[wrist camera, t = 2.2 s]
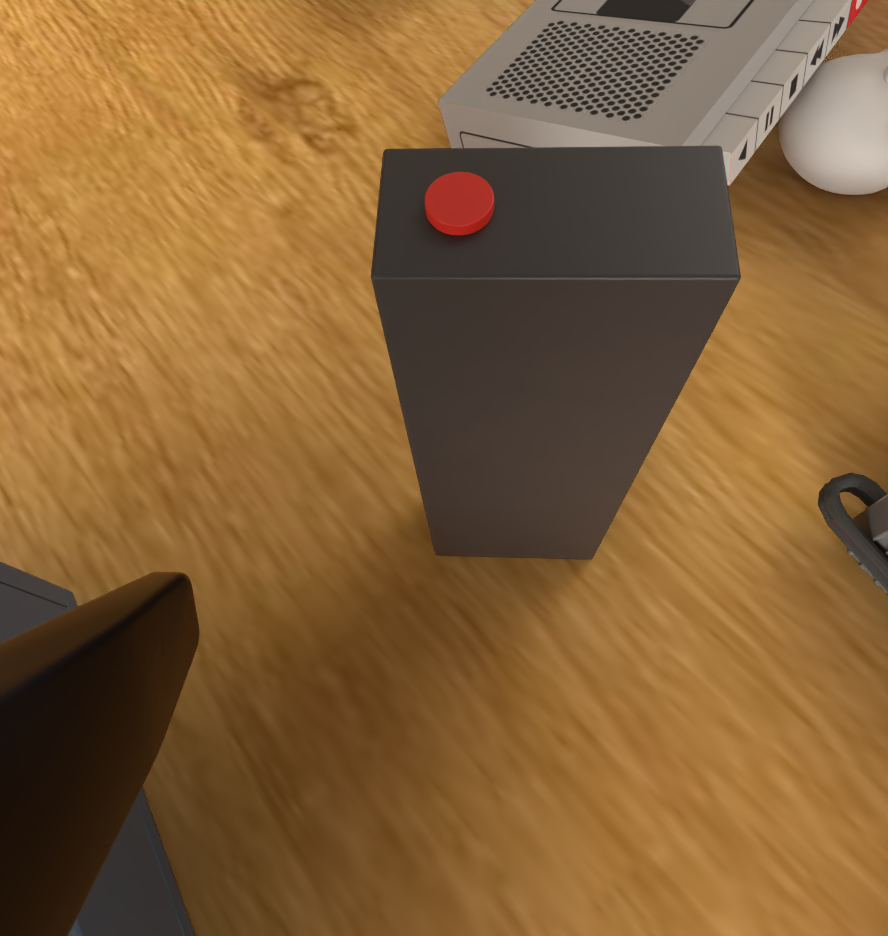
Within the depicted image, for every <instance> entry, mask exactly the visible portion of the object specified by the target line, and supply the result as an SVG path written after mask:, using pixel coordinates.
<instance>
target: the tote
mask: <svg viewBox="0 0 888 936" xmlns="http://www.w3.org/2000/svg"><path fill="white" fill-rule="evenodd" d="M75 608H77V604H76V601H75V599H74V596H73V593H72V592H71V591H68V590H66V589H63V588H61V587H60V586H57V585H55V584H52V583H50V582H47V581H45V580H43V579H40V578H38V577H35V576H33V575H31V574H28V573H26V572H23V571H21V570H19V569H16V568H14V567H11V566H9V565H7V564H4V563H2V562H0V643H1V642H3V641H6V640H8V639H10V638H12V637H14V636H16V635H18V634H21V633H23V632H25V631H27V630H29V629H31V628H34V627H36V626H38V625H40V624H42V623H44V622H47V621H49V620H51V619H53V618H55V617H57V616H60V615H62V614H64V613H66V612H68V611H70V610H72V609H75ZM68 936H195V934H194V931H193V928H192V926H191V923H190V920H189V917H188V914H187V912H186V909H185V906H184V903H183V900H182V898H181V895H180V892H179V889H178V886H177V884H176V881H175V878H174V875H173V872H172V870H171V867H170V864H169V861H168V859H167V856H166V853H165V850H164V847H163V845H162V842H161V839H160V836H159V833H158V831H157V828H156V825H155V822H154V819H153V817H152V814H151V811H150V808H149V805H148V803H147V800H146V797H145V794H144V791H143V789H142V788H141V790H140V792H139V794H138V796H137V798H136V800H135V802H134V804H133V806H132V808H131V810H130V812H129V814H128V816H127V818H126V820H125V822H124V824H123V826H122V828H121V830H120V832H119V834H118V836H117V838H116V840H115V842H114V844H113V846H112V848H111V850H110V852H109V854H108V856H107V858H106V860H105V862H104V864H103V866H102V868H101V870H100V872H99V874H98V876H97V878H96V880H95V882H94V885H93V887H92V889H91V891H90V893H89V895H88V897H87V899H86V901H85V903H84V905H83V907H82V909H81V911H80V913H79V915H78V917H77V919H76V921H75V923H74V925H73V927H72V929H71V931H70V933H69V935H68Z"/></svg>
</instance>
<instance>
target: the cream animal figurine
mask: <svg viewBox="0 0 888 936" xmlns="http://www.w3.org/2000/svg"><path fill="white" fill-rule="evenodd" d="M778 136H779V141H780V145H781V148H782V151H783V153H784V155H785V157H786V159H787V161H788V162H789V164H790V165H791V166H792V167H793V169H794V170H795V171H796V172H797V173H798V174H799V175H800V176H801V177H802V178H804V179H805V180H806V181H808V182H809V183H811V184H812V185H814V186H816V187H818V188H820V189H823V190H825V191H828V192H832V193H838V194H846V195H863V194H870V193H874V192H877V191H880V190H882V189H885V188H887V187H888V48H887V49H885V50H883V51H881V52H879V53H874V54H857V55H849V56H844V57H839V58H835V59H832V60H829V61H826V62H823V63H821V64H820V65H819V67H818V68H817V69H816V71H815V72H814V73H813V75H812V76H811V77H810V79H809V80H808V81H807V83H806V84H805V85H804V87H803V88H802V89H801V91H800V92H799V94H798V95H797V96H796V98H795V99H794V100H793V102H792V103H791V104H790V106H789V107H788V108H787V110H786V111H785V112H784V114H783V115H782V116H781V118H780V119H779V120H778Z"/></svg>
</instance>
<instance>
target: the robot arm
mask: <svg viewBox="0 0 888 936" xmlns="http://www.w3.org/2000/svg"><path fill="white" fill-rule="evenodd" d="M198 641H199V624H198V618H197V613H196V607H195V601H194V595H193V589H192V584H191V581H190V579H189V577H188V576H187V575H186V574H184V573H180V572H153V573H150V574H148V575H146V576H144V577H142V578H139V579H137V580H135V581H133V582H131V583H129V584H126V585H124V586H122V587H120V588H118V589H116V590H114V591H111V592H109V593H107V594H105V595H103V596H101V597H98V598H96V599H94V600H92V601H90V602H88V603H85V604H83V605H81V606H79V607H77V608H75V609H72V610H70V611H68V612H66V613H64V614H62V615H60V616H57V617H55V618H53V619H51V620H49V621H47V622H44V623H42V624H40V625H38V626H36V627H34V628H31V629H29V630H27V631H25V632H23V633H21V634H18V635H16V636H14V637H12V638H10V639H8V640H6V641H3V642H1V643H0V936H68V935H69V933H70V931H71V929H72V927H73V925H74V923H75V921H76V919H77V917H78V915H79V913H80V911H81V909H82V907H83V905H84V903H85V901H86V899H87V897H88V895H89V893H90V891H91V889H92V887H93V885H94V882H95V880H96V878H97V876H98V874H99V872H100V870H101V868H102V866H103V864H104V862H105V860H106V858H107V856H108V854H109V852H110V850H111V848H112V846H113V844H114V842H115V840H116V838H117V836H118V834H119V832H120V830H121V828H122V826H123V824H124V822H125V820H126V818H127V816H128V814H129V812H130V810H131V808H132V806H133V804H134V802H135V800H136V798H137V796H138V794H139V792H140V790H141V788H142V786H143V784H144V782H145V780H146V778H147V776H148V774H149V772H150V769H151V767H152V765H153V763H154V761H155V759H156V756H157V754H158V752H159V749H160V747H161V744H162V742H163V739H164V737H165V734H166V731H167V729H168V726H169V723H170V721H171V718H172V715H173V712H174V710H175V707H176V704H177V701H178V699H179V696H180V693H181V690H182V688H183V685H184V682H185V679H186V677H187V674H188V671H189V668H190V666H191V663H192V660H193V657H194V655H195V652H196V649H197V646H198Z"/></svg>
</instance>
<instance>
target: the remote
mask: <svg viewBox="0 0 888 936" xmlns="http://www.w3.org/2000/svg"><path fill="white" fill-rule="evenodd" d="M740 278H741V275H740V268H739V261H738V254H737V247H736V240H735V234H734V227H733V220H732V213H731V206H730V199H729V192H728V185H727V178H726V171H725V165H724V158H723V151H722V147H721V146H629V147H531V148H433V149H386V150H384V153H383V159H382V169H381V179H380V190H379V200H378V210H377V220H376V230H375V240H374V250H373V260H372V270H371V279H372V284H373V288H374V292H375V297H376V301H377V305H378V310H379V314H380V318H381V322H382V327H383V331H384V335H385V340H386V344H387V348H388V353H389V357H390V361H391V366H392V370H393V374H394V379H395V383H396V387H397V392H398V396H399V400H400V405H401V409H402V413H403V417H404V422H405V426H406V430H407V435H408V439H409V443H410V448H411V452H412V456H413V461H414V465H415V469H416V474H417V478H418V482H419V487H420V491H421V495H422V499H423V504H424V508H425V512H426V517H427V521H428V525H429V530H430V534H431V538H432V543H433V547H434V551H435V555H439V556H477V557H515V558H553V559H590V560H591V559H592V558H593V556H594V555H595V553H596V551H597V549H598V547H599V545H600V543H601V541H602V539H603V538H604V536H605V534H606V532H607V530H608V528H609V526H610V524H611V522H612V521H613V519H614V517H615V515H616V513H617V511H618V509H619V507H620V505H621V504H622V502H623V500H624V498H625V496H626V494H627V492H628V490H629V488H630V486H631V485H632V483H633V481H634V479H635V477H636V475H637V473H638V471H639V469H640V468H641V466H642V464H643V462H644V460H645V458H646V456H647V454H648V452H649V451H650V449H651V447H652V445H653V443H654V441H655V439H656V437H657V435H658V434H659V432H660V430H661V428H662V426H663V424H664V422H665V420H666V418H667V417H668V415H669V413H670V411H671V409H672V407H673V405H674V403H675V401H676V400H677V398H678V396H679V394H680V392H681V390H682V388H683V386H684V384H685V383H686V381H687V379H688V377H689V375H690V373H691V371H692V369H693V367H694V366H695V364H696V362H697V360H698V358H699V356H700V354H701V352H702V350H703V349H704V347H705V345H706V343H707V341H708V339H709V337H710V335H711V333H712V332H713V330H714V328H715V326H716V324H717V322H718V320H719V318H720V316H721V315H722V313H723V311H724V309H725V307H726V305H727V303H728V301H729V299H730V297H731V296H732V294H733V292H734V290H735V288H736V286H737V284H738V282H739V280H740Z"/></svg>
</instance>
